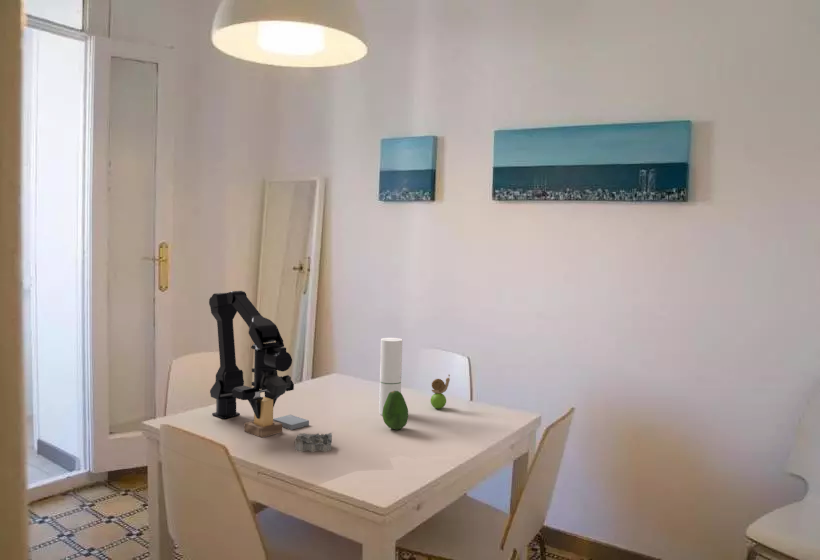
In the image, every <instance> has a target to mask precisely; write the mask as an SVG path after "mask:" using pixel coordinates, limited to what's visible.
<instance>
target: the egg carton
mask: <svg viewBox="0 0 820 560" xmlns="http://www.w3.org/2000/svg"><path fill="white" fill-rule="evenodd" d="M332 433H333V432H329V433H321V434H320V433H315V434H313V433H311V434H309V433H304V432H303V433H299V434H298V435H296V436H295V438H294V439H295V440H294V444H295V451H296V450H297V451H298V452H300V453H302V452H305V451H309V452H317V451H322V452H325V453H326V452H328V451H332V443H333V441H332V440H333V434H332Z"/></svg>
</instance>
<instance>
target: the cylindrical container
mask: <svg viewBox="0 0 820 560" xmlns="http://www.w3.org/2000/svg"><path fill="white" fill-rule="evenodd" d="M379 356H380V357H379V358H380V359H379V360H380V361H379V397H378V401H379V403H378V414H379V415H380V416H383V415H382V413H383V407H384V404H385V402H386V399H387V397H388V395H389V393H390V392H392V391H399V392H400V393H401V394H402V370H403V369H402V367H403V365H402V362H403V339H402V338H399V337H382V338H380V355H379Z"/></svg>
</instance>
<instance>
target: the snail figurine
mask: <svg viewBox="0 0 820 560" xmlns="http://www.w3.org/2000/svg"><path fill="white" fill-rule="evenodd" d="M450 376H451V375H450V374H448V377H446V378H445V381H444V380H442V379H441V378H435V379H434V380H432V382H431V388H432V389H431V392H432V393H434V394H432V396H431V398H430V404H431V406H432V407H433V408H435V409H438V410H441V409H443V408H444V407H446V404H447V397H446V396H445V394H443V393H445V392H447V390H448V387H449V384H450V380H451V378H450Z"/></svg>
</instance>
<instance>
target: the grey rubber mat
mask: <svg viewBox="0 0 820 560" xmlns="http://www.w3.org/2000/svg"><path fill="white" fill-rule="evenodd" d="M273 421H276V422H279V423H282V424H283V425H282V428H283V429H287V430H291V431H292V430H295V429H299V428H303V427H304V428H305V427H307V426H309V425H310V420H309V419H306V418H303V417H300V416H296V415H294V414H287V415H283V416H279V417H278V416H277V417H273Z"/></svg>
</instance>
